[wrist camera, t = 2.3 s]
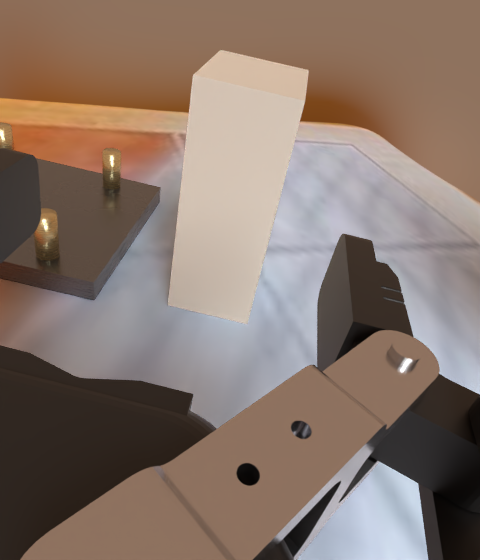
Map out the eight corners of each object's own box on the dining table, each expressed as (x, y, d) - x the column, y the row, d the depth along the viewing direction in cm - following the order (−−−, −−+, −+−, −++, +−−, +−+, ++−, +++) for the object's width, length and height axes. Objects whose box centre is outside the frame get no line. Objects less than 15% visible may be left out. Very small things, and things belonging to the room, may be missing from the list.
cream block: (259, 264, 30) (308, 70, 22) (247, 324, 25) (305, 100, 18) (192, 248, 30) (220, 49, 22) (167, 305, 25) (193, 75, 18)
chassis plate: (159, 202, 34) (163, 155, 31) (93, 300, 24) (92, 242, 22) (-22, 159, 34) (-31, 109, 32) (-160, 240, 24) (-186, 176, 22)
